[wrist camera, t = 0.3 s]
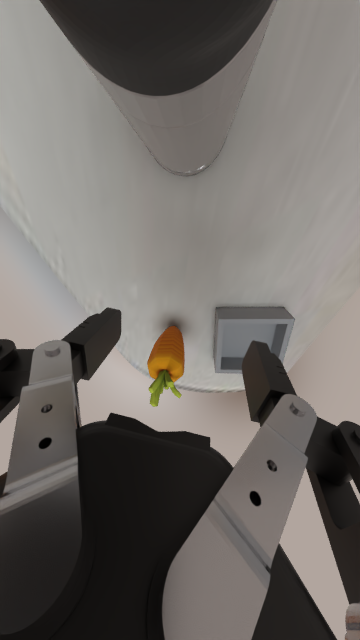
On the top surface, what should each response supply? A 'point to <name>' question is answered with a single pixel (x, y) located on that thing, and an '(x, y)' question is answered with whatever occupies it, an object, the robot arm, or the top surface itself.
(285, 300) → the top surface
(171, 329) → the carrot
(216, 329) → the bin
